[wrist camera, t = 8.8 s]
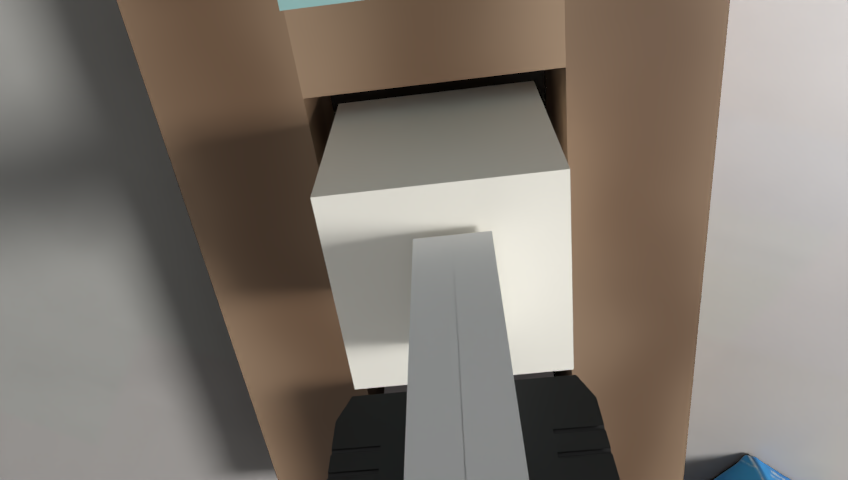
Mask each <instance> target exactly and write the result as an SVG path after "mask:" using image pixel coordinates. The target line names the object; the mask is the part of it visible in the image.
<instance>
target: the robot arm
mask: <svg viewBox="0 0 848 480" xmlns="http://www.w3.org/2000/svg"><path fill="white" fill-rule="evenodd" d="M331 450H332V455H330V462H329V468H328V479H327V480H620V478H619V474H618V471H617V468H616V464H615V461H614V457H613V454H612V453H611V447H610V443H609V440H608V436H607V433H606V430H605V428H604V422H603V419H602V415H601V412H600V408H599V405H598V401H597V398H596V396H595V395H594V394H593V393H592V392H591V391H590V390H589V389H588V387H587V386H586V385H585V384H584V383H583V382H582V381H581V380H580V379H579V377H578V376H577V375H567V376H556V377H544V378H533V379H521V380H514V376H513V369H512V362H511V356H510V349H509V342H508V336H507V329H506V323H505V316H504V309H503V303H502V296H501V289H500V283H499V276H498V269H497V263H496V256H495V249H494V243H493V236H492V231H485V232H475V233H466V234H456V235H446V236H437V237H427V238H417V239H413V250H412V276H411V302H410V328H409V354H408V381H407V392H396V393H385V394H373V395H362V396H352V397H351V399H350V401H349V402H348V404H347V405H346V407H345V408H344V410H343V411H342V413H341V414H340V416H339V417H338V419H337V420H336V423H335V429H334V436H333V442H332V449H331Z"/></svg>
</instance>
